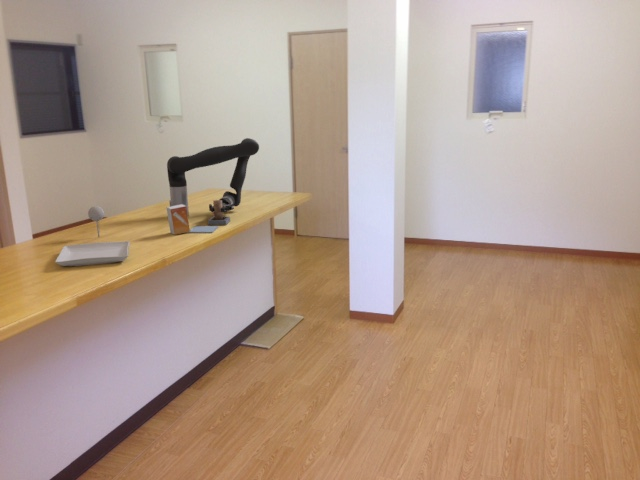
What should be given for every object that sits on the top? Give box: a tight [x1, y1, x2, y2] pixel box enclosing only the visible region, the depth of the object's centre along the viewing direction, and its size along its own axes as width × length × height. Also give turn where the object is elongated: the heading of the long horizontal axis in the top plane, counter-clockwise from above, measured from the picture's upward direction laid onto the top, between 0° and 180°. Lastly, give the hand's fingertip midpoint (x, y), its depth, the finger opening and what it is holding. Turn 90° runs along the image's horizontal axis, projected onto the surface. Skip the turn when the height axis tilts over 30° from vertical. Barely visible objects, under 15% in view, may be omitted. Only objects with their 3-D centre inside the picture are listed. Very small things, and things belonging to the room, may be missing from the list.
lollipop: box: [87, 205, 105, 238], centre depth 267 cm, size 7×7×15 cm
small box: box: [166, 204, 191, 236], centre depth 273 cm, size 8×6×13 cm
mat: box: [187, 225, 219, 234], centre depth 280 cm, size 12×12×1 cm
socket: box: [207, 216, 231, 226], centre depth 295 cm, size 9×9×2 cm
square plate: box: [54, 240, 131, 267], centre depth 233 cm, size 27×27×4 cm
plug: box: [212, 199, 224, 220], centre depth 293 cm, size 5×5×12 cm
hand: (217, 210), depth 290 cm, fingers closed on plug, 4 cm apart
